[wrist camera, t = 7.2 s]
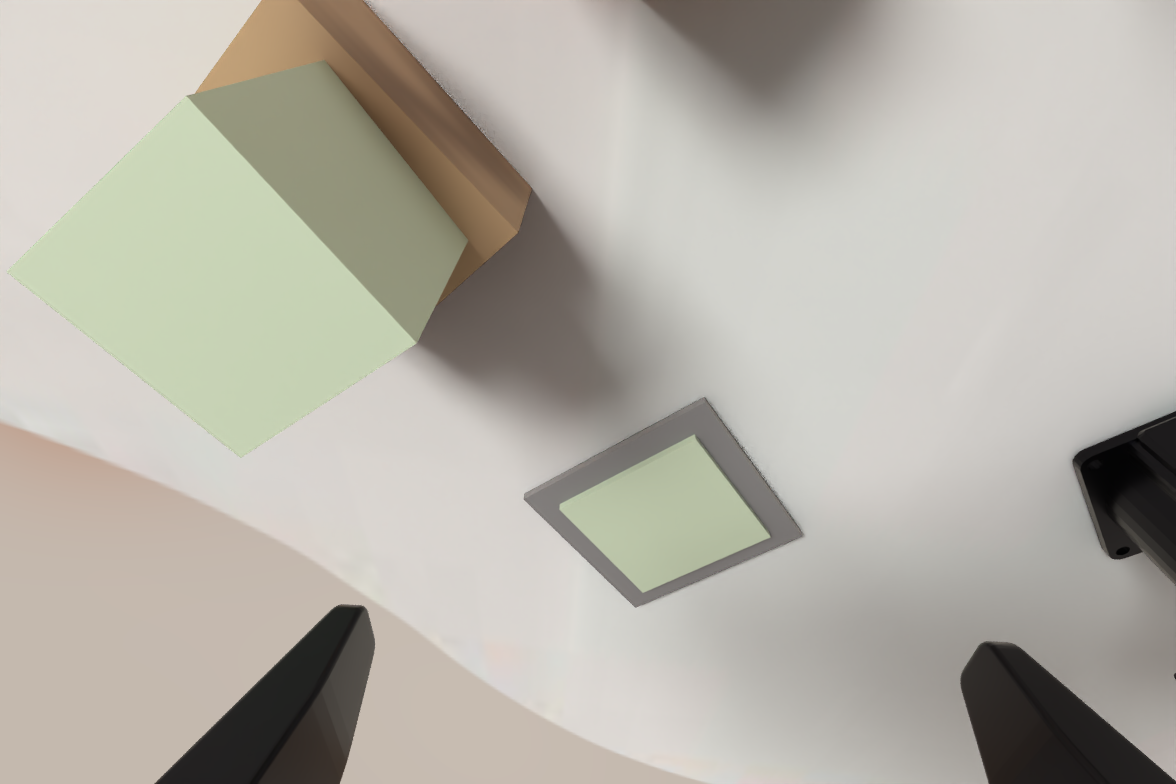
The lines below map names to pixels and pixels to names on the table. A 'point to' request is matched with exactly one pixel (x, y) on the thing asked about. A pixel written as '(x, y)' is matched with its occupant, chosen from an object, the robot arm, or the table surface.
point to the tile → (666, 506)
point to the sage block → (252, 254)
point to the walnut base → (390, 111)
